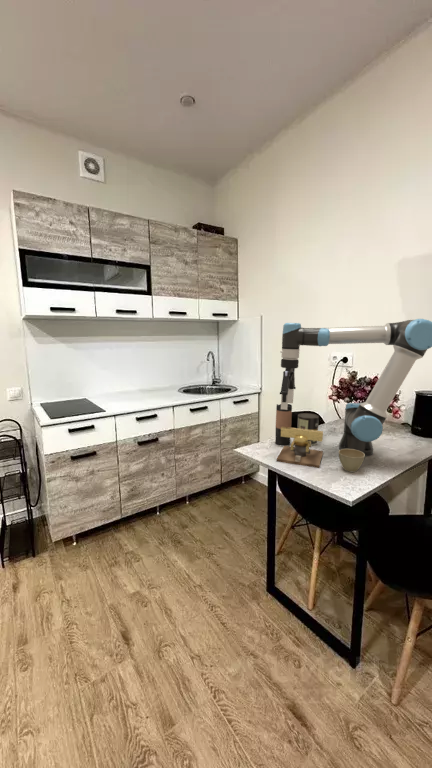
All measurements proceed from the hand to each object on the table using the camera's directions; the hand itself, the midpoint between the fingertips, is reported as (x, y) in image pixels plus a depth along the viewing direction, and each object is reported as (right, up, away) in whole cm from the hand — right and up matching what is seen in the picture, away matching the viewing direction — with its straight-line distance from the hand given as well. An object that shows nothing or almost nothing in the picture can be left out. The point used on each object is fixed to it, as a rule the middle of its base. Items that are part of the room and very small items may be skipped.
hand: (287, 406), depth 149 cm
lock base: (+6, -23, +1) cm, 24 cm away
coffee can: (+15, -20, +21) cm, 33 cm away
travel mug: (+2, -20, +19) cm, 28 cm away
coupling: (+6, -19, 0) cm, 20 cm away
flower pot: (+24, -26, -11) cm, 37 cm away
